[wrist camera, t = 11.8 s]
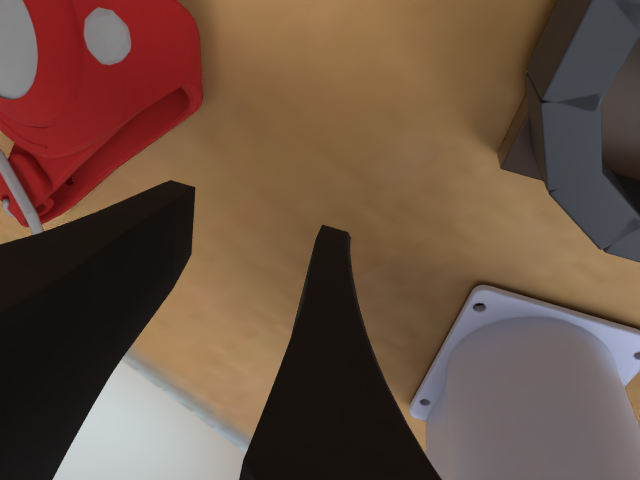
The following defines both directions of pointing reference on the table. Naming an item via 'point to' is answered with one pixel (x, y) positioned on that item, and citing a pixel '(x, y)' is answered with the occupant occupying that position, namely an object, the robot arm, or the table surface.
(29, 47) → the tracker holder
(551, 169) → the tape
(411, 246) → the table surface
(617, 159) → the brown peg stand
